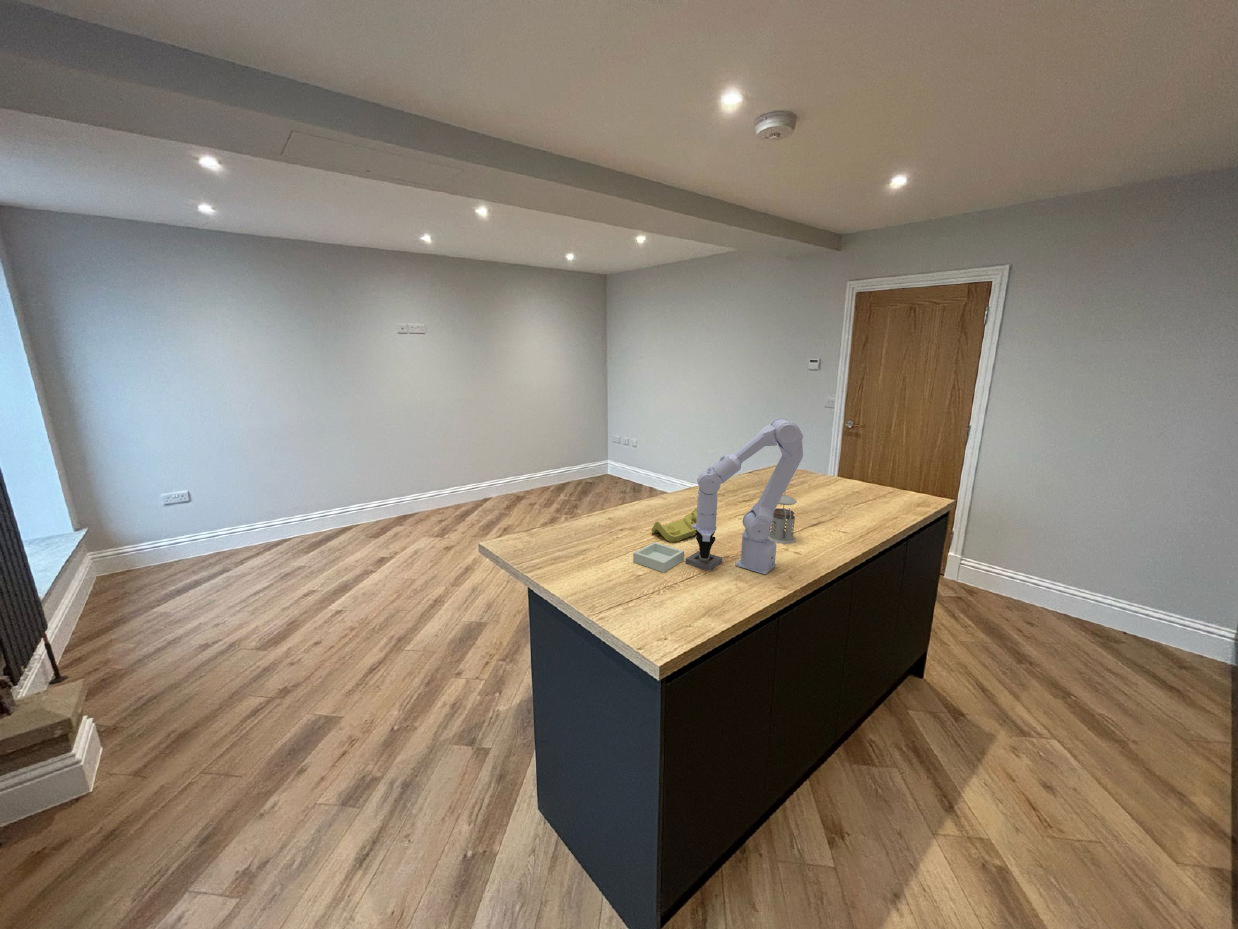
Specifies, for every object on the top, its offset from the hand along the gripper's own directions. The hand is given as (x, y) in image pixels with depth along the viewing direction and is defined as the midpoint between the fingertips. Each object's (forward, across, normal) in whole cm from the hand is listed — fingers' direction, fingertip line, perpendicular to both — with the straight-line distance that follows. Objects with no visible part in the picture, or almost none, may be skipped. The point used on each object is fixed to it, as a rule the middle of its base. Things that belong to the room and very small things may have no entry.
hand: (704, 555), depth 138 cm
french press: (+3, -24, +26) cm, 36 cm away
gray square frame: (+2, 0, 0) cm, 2 cm away
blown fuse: (+2, 0, 0) cm, 2 cm away
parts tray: (+2, +1, -14) cm, 14 cm away
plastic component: (+3, -23, -7) cm, 24 cm away
